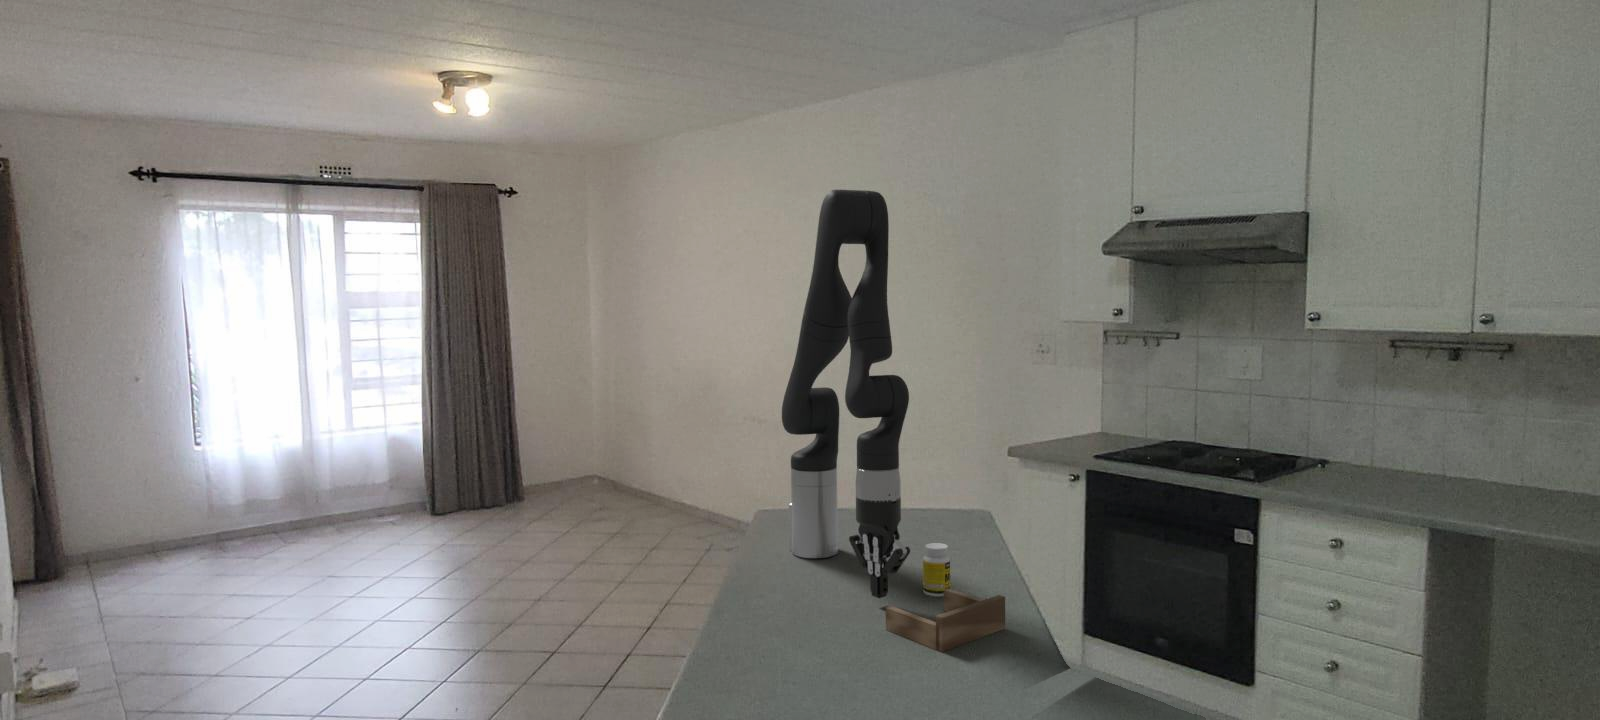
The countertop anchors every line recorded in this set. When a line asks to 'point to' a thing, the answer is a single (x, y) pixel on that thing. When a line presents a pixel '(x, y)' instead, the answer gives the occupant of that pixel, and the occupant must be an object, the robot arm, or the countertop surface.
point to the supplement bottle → (936, 569)
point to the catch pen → (950, 621)
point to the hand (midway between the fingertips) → (879, 596)
